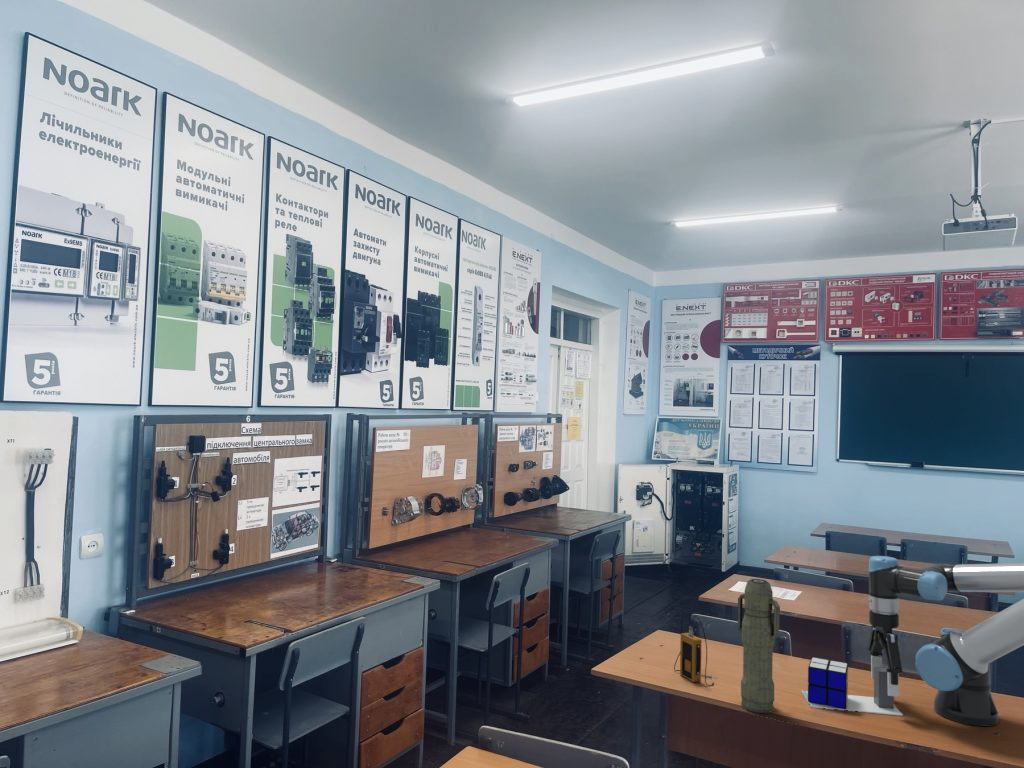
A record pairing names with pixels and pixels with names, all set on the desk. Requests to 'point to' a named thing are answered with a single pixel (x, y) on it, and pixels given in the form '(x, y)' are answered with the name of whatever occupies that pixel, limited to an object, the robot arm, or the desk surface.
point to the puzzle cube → (828, 683)
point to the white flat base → (869, 698)
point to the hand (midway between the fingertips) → (884, 687)
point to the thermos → (758, 645)
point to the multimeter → (691, 655)
